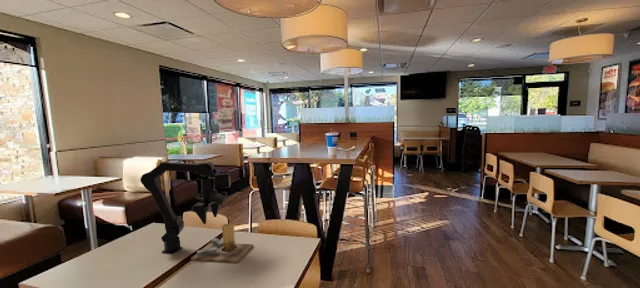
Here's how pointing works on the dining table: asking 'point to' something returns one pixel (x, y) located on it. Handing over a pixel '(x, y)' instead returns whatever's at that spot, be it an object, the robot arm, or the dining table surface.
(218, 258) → the shaft board
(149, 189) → the robot arm
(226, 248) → the brass sleeve
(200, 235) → the dining table surface
